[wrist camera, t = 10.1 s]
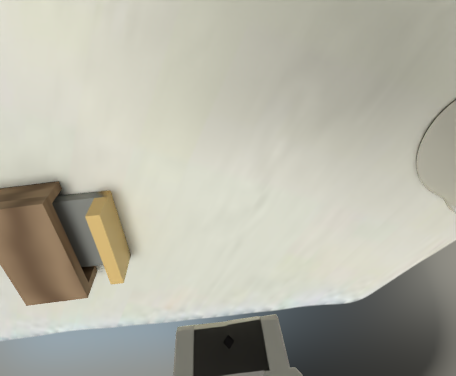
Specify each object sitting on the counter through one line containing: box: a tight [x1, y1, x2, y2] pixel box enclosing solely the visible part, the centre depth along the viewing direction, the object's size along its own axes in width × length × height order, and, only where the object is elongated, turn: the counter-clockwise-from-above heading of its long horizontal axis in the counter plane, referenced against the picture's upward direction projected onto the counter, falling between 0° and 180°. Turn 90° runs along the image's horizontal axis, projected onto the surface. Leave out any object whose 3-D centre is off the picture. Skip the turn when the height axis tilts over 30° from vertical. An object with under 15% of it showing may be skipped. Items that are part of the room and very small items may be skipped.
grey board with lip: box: [52, 191, 131, 284], centre depth 39 cm, size 11×10×5 cm
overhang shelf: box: [0, 181, 97, 306], centre depth 39 cm, size 8×14×4 cm, turn 6°
